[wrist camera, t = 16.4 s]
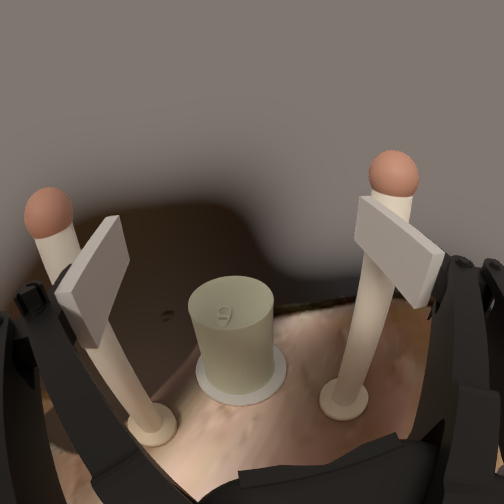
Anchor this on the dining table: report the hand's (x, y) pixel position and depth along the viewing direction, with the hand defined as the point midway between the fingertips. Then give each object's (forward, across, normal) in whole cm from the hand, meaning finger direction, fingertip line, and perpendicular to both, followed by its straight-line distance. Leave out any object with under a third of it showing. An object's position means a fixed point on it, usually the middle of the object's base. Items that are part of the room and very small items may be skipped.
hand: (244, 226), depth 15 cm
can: (+10, 0, -25) cm, 27 cm away
